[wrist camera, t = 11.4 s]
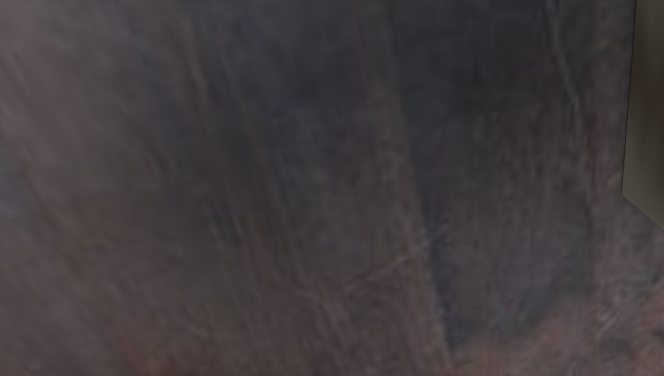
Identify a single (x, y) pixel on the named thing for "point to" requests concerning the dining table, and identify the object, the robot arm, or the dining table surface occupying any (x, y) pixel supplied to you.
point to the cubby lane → (646, 114)
